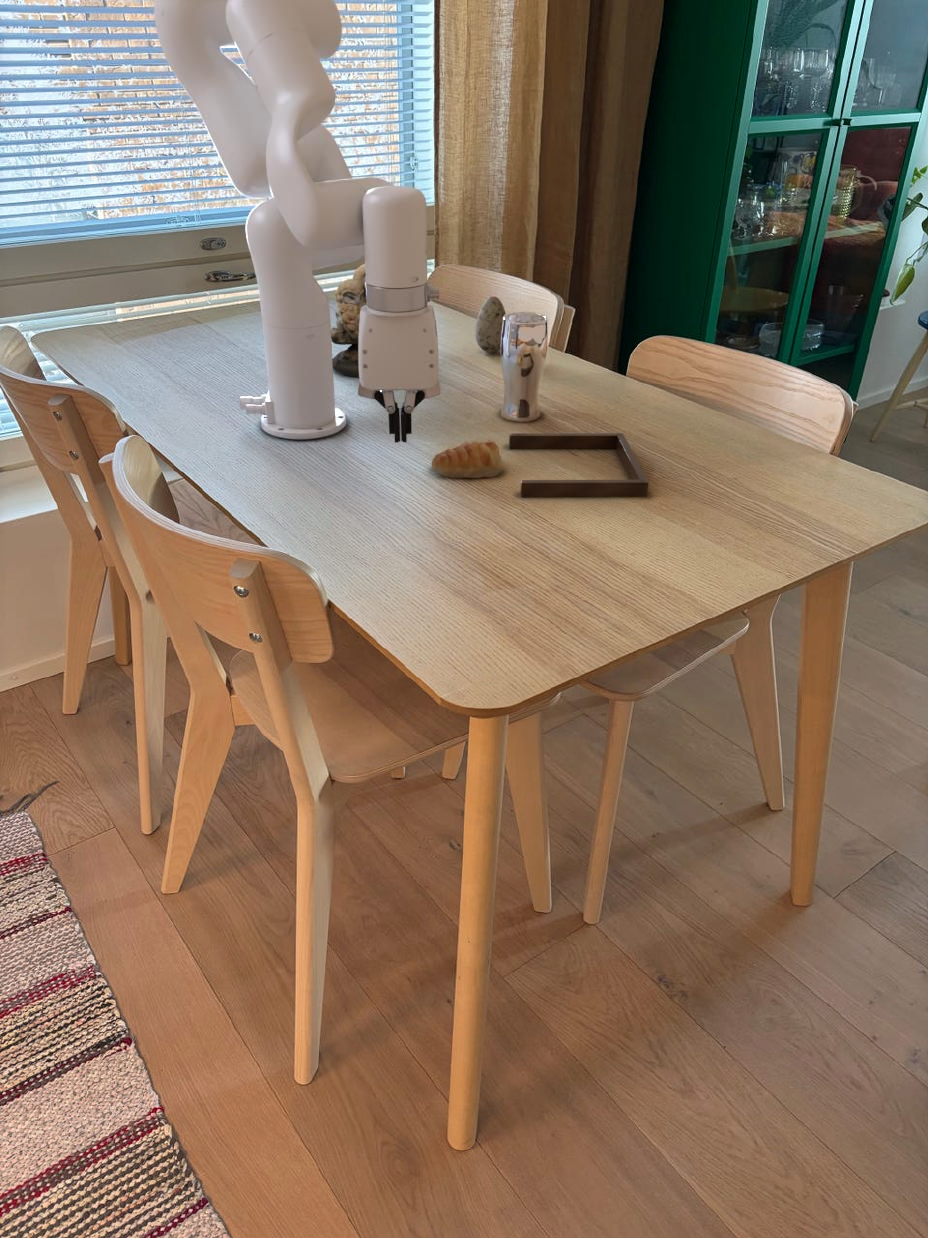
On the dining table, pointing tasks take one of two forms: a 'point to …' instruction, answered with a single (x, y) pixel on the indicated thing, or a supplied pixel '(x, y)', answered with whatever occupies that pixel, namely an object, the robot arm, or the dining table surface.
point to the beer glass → (522, 364)
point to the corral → (582, 487)
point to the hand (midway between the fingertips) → (400, 438)
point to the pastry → (469, 460)
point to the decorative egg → (490, 325)
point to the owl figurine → (349, 322)
